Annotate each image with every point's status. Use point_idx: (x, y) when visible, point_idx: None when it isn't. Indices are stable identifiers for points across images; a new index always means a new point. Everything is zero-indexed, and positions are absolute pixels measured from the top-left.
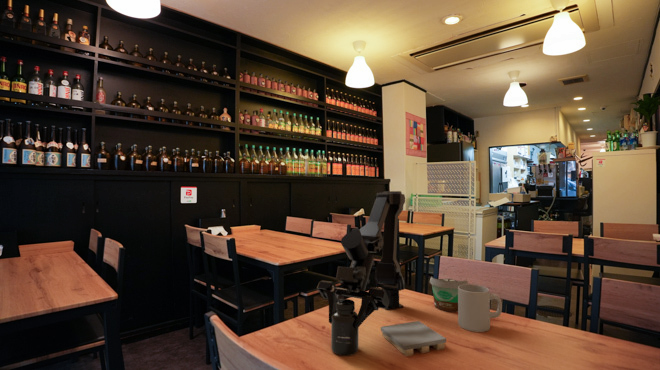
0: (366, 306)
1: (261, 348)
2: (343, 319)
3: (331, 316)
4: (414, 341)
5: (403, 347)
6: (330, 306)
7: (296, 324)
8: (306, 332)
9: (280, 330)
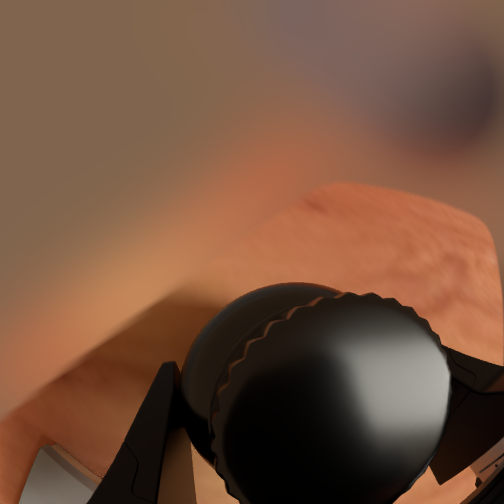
0: (90, 501)
1: (438, 203)
2: (243, 302)
3: None
4: (42, 491)
5: (46, 448)
6: (449, 358)
7: None
8: None
9: (486, 309)
